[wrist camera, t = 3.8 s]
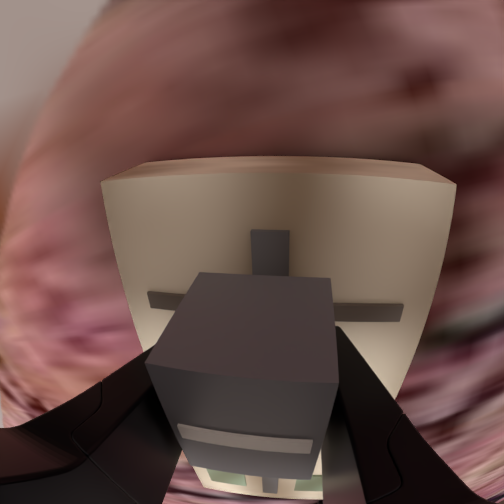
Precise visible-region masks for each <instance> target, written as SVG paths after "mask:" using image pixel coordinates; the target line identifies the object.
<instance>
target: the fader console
mask: <svg viewBox="0 0 504 504" xmlns="http://www.w3.org/2000/svg"><path fill="white" fill-rule="evenodd" d="M100 183H101V189H102V195H103V200H104V206H105V211H106V216H107V221H108V226H109V231H110V235H111V240H112V244H113V249H114V253H115V257H116V261H117V265H118V269H119V273H120V277H121V281H122V284H123V288H124V291H125V295H126V298H127V302H128V305H129V309H130V312H131V315H132V318H133V322H134V325H135V328H136V331H137V334H138V337H139V340H140V343H141V346H142V349H143V352H145V351H146V350H148V349H149V348H150V347H152V346H153V345H155V344H156V342H157V341H158V339H159V337H160V336H161V334H162V332H163V331H164V329H165V327H166V326H167V324H168V322H169V321H170V319H171V317H172V316H173V314H174V312H175V311H176V309H177V308H178V306H179V304H180V303H181V301H182V299H183V298H184V296H185V294H186V293H187V291H188V290H189V288H190V286H191V285H192V283H193V282H194V280H195V278H196V277H197V275H198V274H199V272H207V273H226V274H246V275H268V276H292V277H319V278H331V287H332V297H333V307H334V318H335V326H339V327H341V329H342V330H343V331H344V333H345V334H346V335H347V337H348V338H349V339H350V341H351V342H352V343H353V344H354V346H355V347H356V348H357V350H358V351H359V352H360V354H361V355H362V356H363V358H364V359H365V360H366V362H367V363H368V364H369V366H370V367H371V368H372V370H373V371H374V372H375V374H376V375H377V376H378V378H379V379H380V381H381V382H382V383H383V385H384V386H385V387H386V389H387V390H388V391H389V393H390V394H391V395H392V397H393V398H394V400H395V398H396V396H397V394H398V392H399V389H400V387H401V385H402V383H403V380H404V378H405V376H406V373H407V371H408V368H409V366H410V364H411V361H412V358H413V356H414V353H415V351H416V348H417V345H418V343H419V340H420V337H421V334H422V331H423V328H424V326H425V323H426V319H427V316H428V313H429V310H430V307H431V304H432V300H433V297H434V293H435V290H436V286H437V283H438V279H439V275H440V271H441V267H442V263H443V259H444V254H445V250H446V245H447V241H448V236H449V231H450V225H451V220H452V214H453V208H454V201H455V194H456V186H457V184H455V183H453V182H452V181H450V180H448V179H446V178H445V177H443V176H441V175H439V174H437V173H436V172H434V171H432V170H430V169H428V168H426V167H425V166H423V165H421V164H415V163H406V162H396V161H384V160H372V159H357V158H338V157H311V156H241V157H214V158H195V159H180V160H167V161H155V162H145V163H143V164H140V165H138V166H135V167H133V168H131V169H128V170H126V171H123V172H121V173H119V174H116V175H114V176H112V177H109V178H107V179H105V180H102V181H100ZM193 468H194V470H195V471H196V473H197V475H198V477H199V479H200V481H201V483H202V484H203V486H204V487H205V488H210V489H215V490H221V491H227V492H233V493H240V494H247V495H255V496H264V497H275V498H289V499H323V487H322V463H321V450H320V453H319V456H318V460H317V463H316V466H315V469H314V472H313V475H312V477H311V480H296V479H280V478H268V477H258V476H249V475H242V474H235V473H228V472H222V471H216V470H211V469H206V468H201V467H196V466H193Z"/></svg>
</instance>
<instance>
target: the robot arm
mask: <svg viewBox="0 0 504 504" xmlns="http://www.w3.org/2000/svg"><path fill="white" fill-rule="evenodd" d="M335 330H336V342H337V357H338V374H339V385H338V389H337V393H336V397H335V401H334V405H333V408H332V412H331V416H330V420H329V423H328V427H327V430H326V434H325V437H324V440H323V444H322V447H321V463H322V487H323V500H320V501H318V503H317V504H498V503H494V502H491V501H488V500H486V499H484V498H482V497H480V496H479V495H477V494H476V493H474V492H473V491H472V490H471V489H470V488H469V487H468V486H467V485H466V484H465V483H464V482H463V481H462V480H461V479H460V478H459V477H458V476H457V475H456V474H455V473H454V472H453V470H452V469H451V468H450V467H449V466H448V465H447V464H446V463H445V462H444V461H443V460H442V459H441V458H440V457H439V456H438V454H437V453H436V452H435V451H434V450H433V449H432V448H431V446H430V445H429V444H428V443H427V442H426V441H425V440H424V438H423V437H422V436H421V435H420V433H419V432H418V431H417V429H416V428H415V427H414V425H413V424H412V423H411V421H410V420H409V419H408V417H407V416H406V414H403V410H402V409H401V408H400V406H399V405H398V404H397V402H396V401H395V400H394V398H393V397H392V395H391V394H390V393H389V391H388V390H387V389H386V387H385V386H384V385H383V383H382V382H381V381H380V379H379V378H378V376H377V375H376V374H375V372H374V371H373V370H372V368H371V367H370V366H369V364H368V363H367V362H366V360H365V359H364V358H363V356H362V355H361V354H360V352H359V351H358V350H357V348H356V347H355V346H354V344H353V343H352V342H351V341H350V339H349V338H348V337H347V335H346V334H345V333H344V331H343V330H342V329H341V327H339V326H335ZM154 346H155V345H153V346H152V347H150V348H149V349H148V350H146V351H145V352H143V353H142V354H140V355H139V356H137V357H136V358H134V359H133V360H131V361H130V362H128V363H127V364H125V365H124V366H122V367H121V368H119V369H118V370H116V371H115V372H113V373H112V374H110V375H109V376H107V377H106V378H104V379H103V380H102V382H101V381H100V382H98V383H97V384H95V385H94V386H92V387H91V388H89V389H87V390H86V391H84V392H83V393H81V394H79V395H78V396H76V397H74V398H73V399H71V400H69V401H67V402H65V403H63V404H62V405H60V406H58V407H56V408H54V409H52V410H50V411H48V412H46V413H44V414H42V415H40V416H38V417H36V418H34V419H32V420H30V421H28V422H26V423H24V424H21V425H19V426H15V427H11V428H0V504H162V502H163V500H164V497H165V494H166V492H167V489H168V486H169V484H170V481H171V478H172V475H173V473H174V470H175V467H176V465H177V462H178V459H179V457H180V454H181V451H182V448H181V446H180V444H179V442H178V440H177V438H176V436H175V434H174V431H173V429H172V427H171V425H170V423H169V421H168V418H167V416H166V414H165V412H164V409H163V407H162V405H161V402H160V400H159V398H158V395H157V393H156V390H155V388H154V386H153V383H152V381H151V378H150V375H149V373H148V370H147V368H146V365H145V361H146V359H147V358H148V356H149V354H150V353H151V351H152V349H153V348H154Z"/></svg>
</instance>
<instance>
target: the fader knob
mask: <svg viewBox="0 0 504 504" xmlns="http://www.w3.org/2000/svg"><path fill="white" fill-rule="evenodd" d="M145 365H146V368H147V370H148V373H149V375H150V378H151V381H152V383H153V386H154V388H155V390H156V393H157V395H158V398H159V400H160V402H161V405H162V407H163V409H164V412H165V414H166V416H167V418H168V421H169V423H170V425H171V427H172V429H173V431H174V434H175V436H176V438H177V440H178V442H179V444H180V446H181V448H182V450H183V452H184V454H185V456H186V458H187V460H188V462H189V464H190V465H191V466H196V467H201V468H206V469H211V470H216V471H222V472H228V473H235V474H242V475H249V476H258V477H268V478H280V479H296V480H311V477H312V475H313V472H314V469H315V466H316V463H317V460H318V456H319V453H320V450H321V447H322V444H323V440H324V437H325V434H326V430H327V427H328V423H329V420H330V416H331V412H332V408H333V405H334V401H335V397H336V393H337V389H338V385H339V374H338V357H337V342H336V330H335V318H334V307H333V297H332V287H331V278H319V277H292V276H268V275H246V274H226V273H207V272H199V274H198V275H197V277H196V278H195V280H194V282H193V283H192V285H191V286H190V288H189V290H188V291H187V293H186V294H185V296H184V298H183V299H182V301H181V303H180V304H179V306H178V308H177V309H176V311H175V312H174V314H173V316H172V317H171V319H170V321H169V322H168V324H167V326H166V327H165V329H164V331H163V332H162V334H161V336H160V337H159V339H158V341H157V342H156V344H155V346H154V348H153V349H152V351H151V353H150V354H149V356H148V358H147V359H146V361H145Z"/></svg>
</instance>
